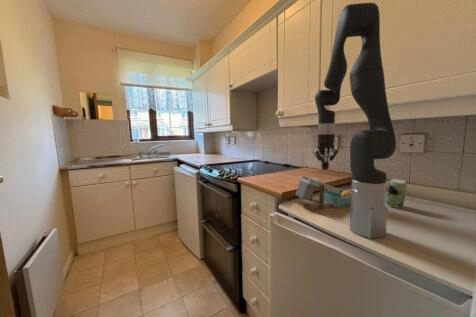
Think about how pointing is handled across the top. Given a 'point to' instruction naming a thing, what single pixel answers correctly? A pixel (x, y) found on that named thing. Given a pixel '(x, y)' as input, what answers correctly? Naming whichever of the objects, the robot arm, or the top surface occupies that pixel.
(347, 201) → the teal square tray
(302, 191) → the chute
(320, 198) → the stand
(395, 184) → the beverage can
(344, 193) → the ball
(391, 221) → the top surface
